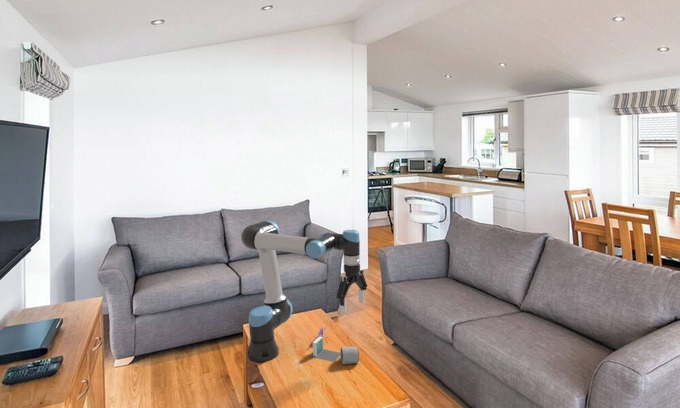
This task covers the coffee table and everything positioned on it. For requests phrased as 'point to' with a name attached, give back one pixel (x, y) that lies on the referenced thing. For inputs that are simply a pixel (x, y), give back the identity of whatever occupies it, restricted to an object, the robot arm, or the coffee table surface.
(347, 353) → the ceramic mug
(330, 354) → the mat
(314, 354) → the tile
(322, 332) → the lily
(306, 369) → the coffee table surface
